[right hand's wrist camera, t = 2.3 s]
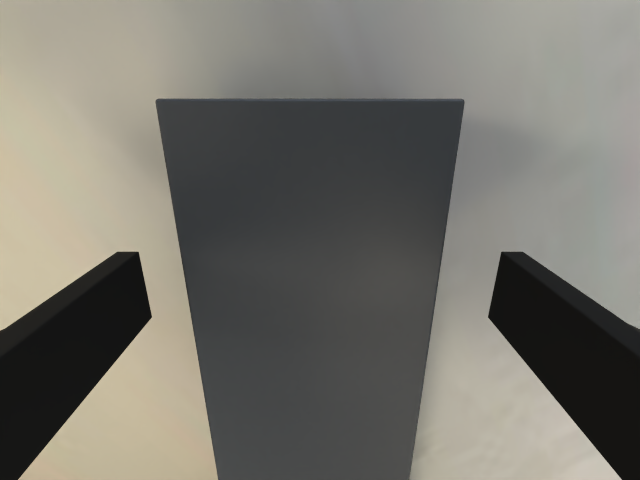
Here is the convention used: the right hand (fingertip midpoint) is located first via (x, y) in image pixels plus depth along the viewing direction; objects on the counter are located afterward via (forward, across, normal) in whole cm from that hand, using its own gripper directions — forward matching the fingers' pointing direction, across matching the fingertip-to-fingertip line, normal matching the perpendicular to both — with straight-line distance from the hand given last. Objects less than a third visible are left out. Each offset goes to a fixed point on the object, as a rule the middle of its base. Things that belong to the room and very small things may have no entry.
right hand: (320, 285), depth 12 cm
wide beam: (+7, 0, -19) cm, 21 cm away
